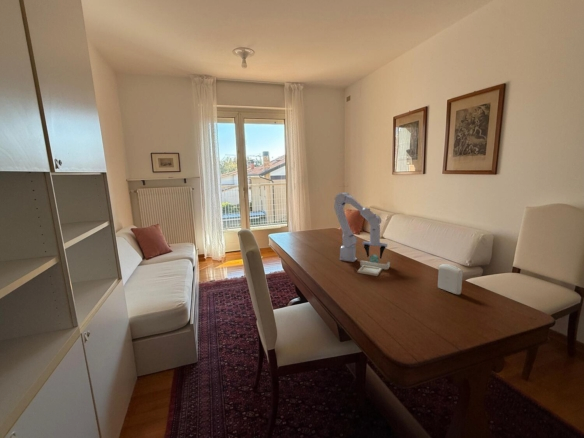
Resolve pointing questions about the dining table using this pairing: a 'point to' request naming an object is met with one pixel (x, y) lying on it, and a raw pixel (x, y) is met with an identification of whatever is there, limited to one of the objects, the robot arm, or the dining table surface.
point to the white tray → (369, 270)
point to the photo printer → (450, 278)
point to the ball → (374, 258)
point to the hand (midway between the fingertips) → (374, 257)
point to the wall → (375, 264)
